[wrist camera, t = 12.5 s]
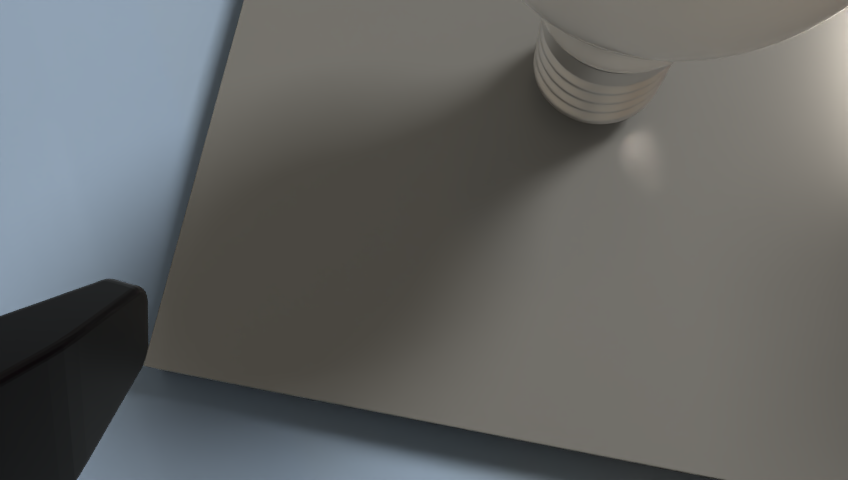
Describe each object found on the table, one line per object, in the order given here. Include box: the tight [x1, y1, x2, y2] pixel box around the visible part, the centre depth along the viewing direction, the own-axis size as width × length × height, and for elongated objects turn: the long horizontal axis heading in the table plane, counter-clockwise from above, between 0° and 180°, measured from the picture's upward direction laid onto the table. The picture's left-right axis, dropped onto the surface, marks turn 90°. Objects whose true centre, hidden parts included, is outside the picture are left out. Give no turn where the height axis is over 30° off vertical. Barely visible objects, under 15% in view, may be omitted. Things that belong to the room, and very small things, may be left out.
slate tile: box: [144, 0, 848, 480], centre depth 18 cm, size 16×16×1 cm
